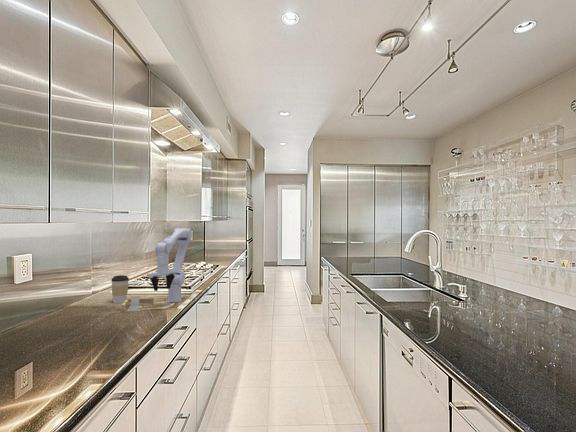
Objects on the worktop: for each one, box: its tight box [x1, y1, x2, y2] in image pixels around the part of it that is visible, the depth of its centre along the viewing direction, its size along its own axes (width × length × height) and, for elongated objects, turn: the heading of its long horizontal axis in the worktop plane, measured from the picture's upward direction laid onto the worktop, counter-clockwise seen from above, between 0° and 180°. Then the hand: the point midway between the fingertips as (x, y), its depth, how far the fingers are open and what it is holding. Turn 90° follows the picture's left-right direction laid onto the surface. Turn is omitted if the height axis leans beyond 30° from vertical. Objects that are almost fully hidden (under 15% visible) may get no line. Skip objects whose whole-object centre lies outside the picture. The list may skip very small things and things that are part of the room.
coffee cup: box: [111, 274, 130, 304], centre depth 187 cm, size 9×9×15 cm
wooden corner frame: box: [120, 297, 154, 313], centre depth 175 cm, size 13×14×4 cm
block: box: [129, 295, 141, 312], centre depth 172 cm, size 7×4×6 cm, turn 19°
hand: (162, 289), depth 177 cm, fingers open, 7 cm apart
